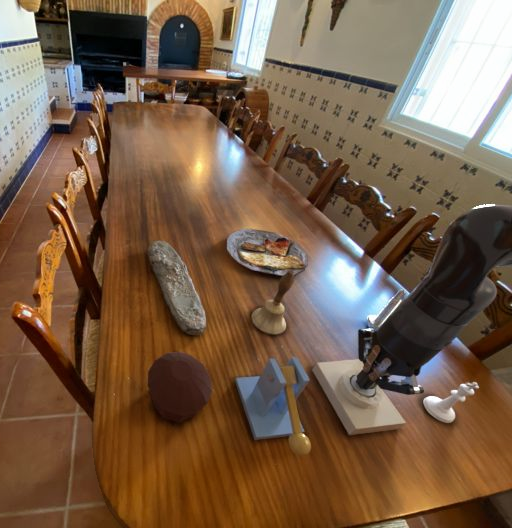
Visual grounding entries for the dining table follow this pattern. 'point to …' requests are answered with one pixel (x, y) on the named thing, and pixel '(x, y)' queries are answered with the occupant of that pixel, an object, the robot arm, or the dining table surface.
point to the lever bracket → (270, 399)
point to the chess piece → (448, 402)
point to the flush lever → (294, 415)
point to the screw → (385, 311)
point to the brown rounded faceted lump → (178, 386)
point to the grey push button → (361, 391)
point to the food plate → (266, 252)
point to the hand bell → (274, 309)
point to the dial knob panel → (356, 399)
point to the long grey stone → (177, 288)
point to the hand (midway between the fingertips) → (362, 385)
